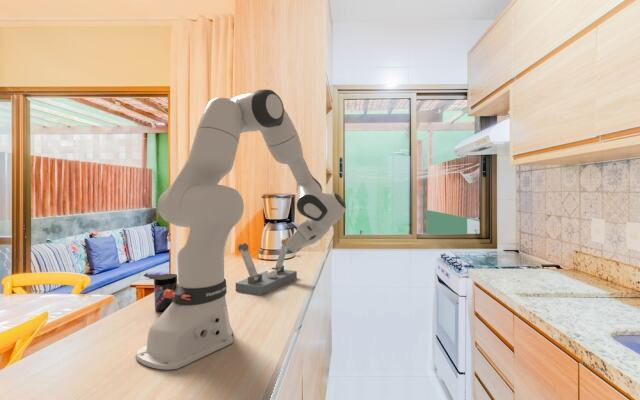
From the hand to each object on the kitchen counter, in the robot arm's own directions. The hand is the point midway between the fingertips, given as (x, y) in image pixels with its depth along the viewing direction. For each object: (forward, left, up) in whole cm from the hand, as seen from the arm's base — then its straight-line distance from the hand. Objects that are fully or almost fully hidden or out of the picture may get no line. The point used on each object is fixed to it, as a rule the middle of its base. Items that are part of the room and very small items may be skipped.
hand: (294, 251), depth 128 cm
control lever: (0, +8, -8) cm, 11 cm away
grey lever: (-15, +8, -8) cm, 19 cm away
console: (-7, +8, -12) cm, 16 cm away
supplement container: (-42, +22, -13) cm, 49 cm away
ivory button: (-7, +5, -9) cm, 13 cm away
